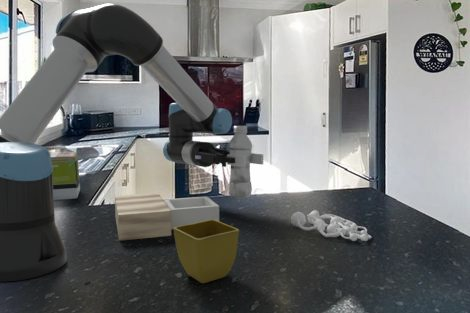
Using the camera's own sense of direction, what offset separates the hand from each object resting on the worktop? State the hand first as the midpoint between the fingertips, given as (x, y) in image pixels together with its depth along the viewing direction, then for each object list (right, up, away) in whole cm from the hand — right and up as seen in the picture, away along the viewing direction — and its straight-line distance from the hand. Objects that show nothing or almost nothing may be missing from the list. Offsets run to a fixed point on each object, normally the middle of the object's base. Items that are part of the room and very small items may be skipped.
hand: (253, 160), depth 109 cm
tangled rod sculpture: (+19, -18, -8) cm, 27 cm away
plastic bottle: (-4, -11, +5) cm, 12 cm away
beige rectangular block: (-29, -17, -3) cm, 34 cm away
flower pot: (-10, -21, -35) cm, 42 cm away
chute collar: (-17, -16, +1) cm, 23 cm away
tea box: (-65, -13, +35) cm, 75 cm away
